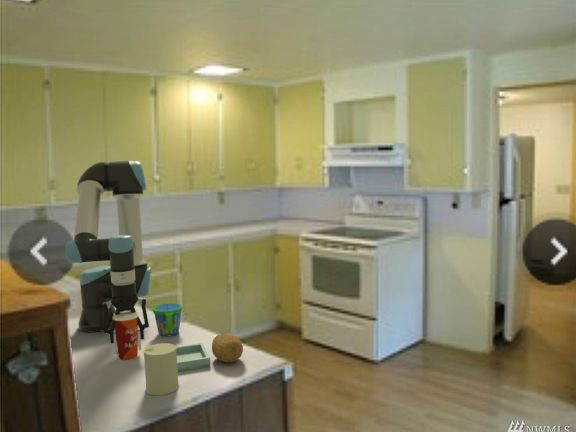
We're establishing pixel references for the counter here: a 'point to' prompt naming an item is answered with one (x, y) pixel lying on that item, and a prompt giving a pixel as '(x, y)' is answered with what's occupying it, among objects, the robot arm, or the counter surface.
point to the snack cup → (168, 318)
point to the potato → (227, 347)
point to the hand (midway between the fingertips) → (128, 350)
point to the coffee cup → (126, 334)
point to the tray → (192, 357)
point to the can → (161, 369)
